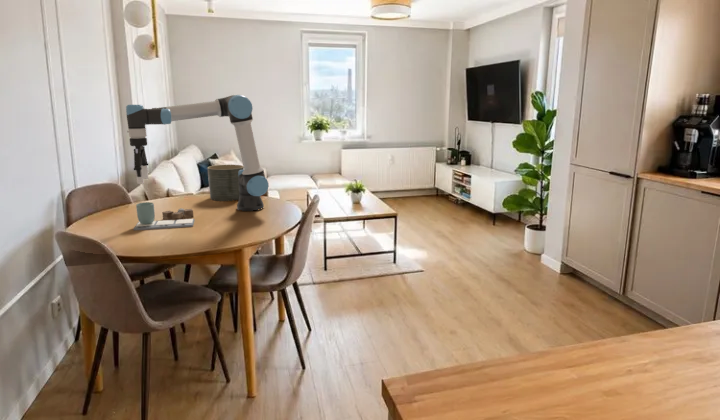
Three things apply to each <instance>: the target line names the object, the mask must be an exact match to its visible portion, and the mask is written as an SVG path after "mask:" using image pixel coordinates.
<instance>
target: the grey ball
mask: <svg viewBox="0 0 720 420" xmlns="http://www.w3.org/2000/svg"><path fill="white" fill-rule="evenodd" d="M184 210H185V208H179V209H178V210H177V212H183V216H184Z"/></svg>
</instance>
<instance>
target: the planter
mask: <svg viewBox="0 0 720 420" xmlns="http://www.w3.org/2000/svg"><path fill="white" fill-rule="evenodd" d="M239 170H244V167H243V164H242V165H240V164H216V165H210V166H208V167H207V177H208V178H207V179H208V187H209V197H210V200H212V201H216V202H233V200H234V201H238V200H239V196H240V195H239V178H238V172H239Z"/></svg>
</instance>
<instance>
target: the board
mask: <svg viewBox="0 0 720 420" xmlns="http://www.w3.org/2000/svg"><path fill="white" fill-rule="evenodd" d="M194 224H195V218H183V219H181V220H172V219H171V220H164V219H163V220H154V221H153V222H152V223H151V224H141V223H140V222H139V221H137V223H136V224H135V225H134V227H133V231H146V230H147V231H149V230H160V229H161V230H162V229H176V228H177V229H178V228H179V229H180V228H193V227H194Z"/></svg>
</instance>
